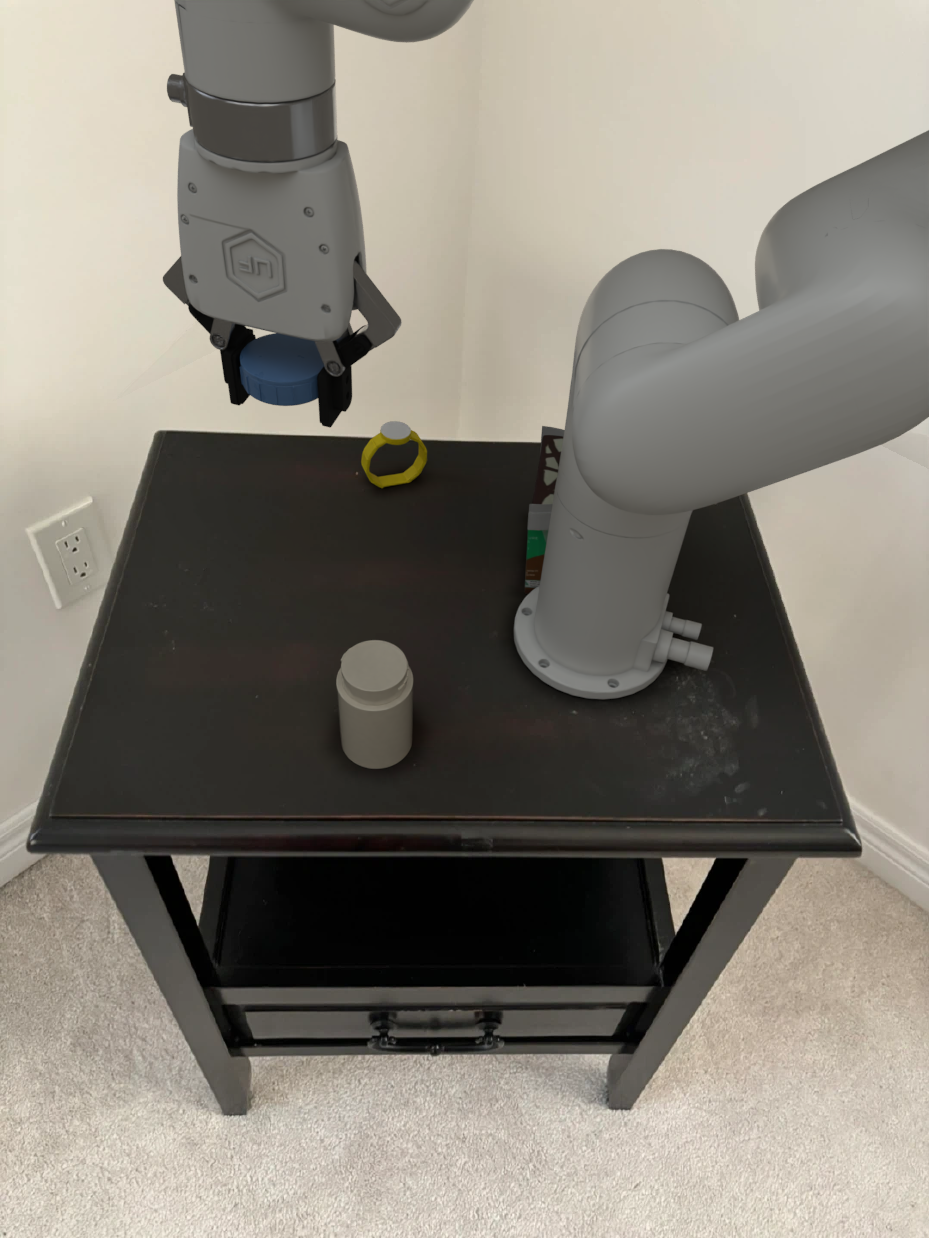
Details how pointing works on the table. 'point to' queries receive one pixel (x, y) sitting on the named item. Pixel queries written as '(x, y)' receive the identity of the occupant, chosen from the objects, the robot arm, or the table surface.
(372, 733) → the jar
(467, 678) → the table surface
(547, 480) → the food container
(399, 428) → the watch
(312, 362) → the lid
